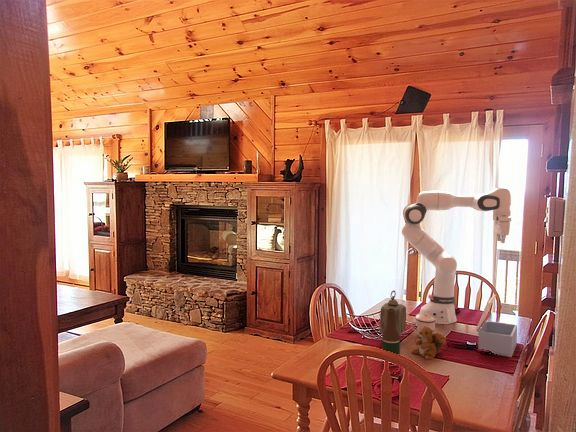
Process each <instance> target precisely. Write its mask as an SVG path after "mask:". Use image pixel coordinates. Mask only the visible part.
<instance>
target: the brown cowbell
mask: <svg viewBox="0 0 576 432" xmlns="http://www.w3.org/2000/svg"><path fill="white" fill-rule="evenodd" d="M393 293H394V295H393ZM395 298H396V290H394V289H393V290H392V291H391V292H390V299H389V300H388V301H387V302H386V303H384V304H383V305H382V306H381V307H380V310H379V311H380V312H379V330H380V331H379V332H380V334H382V335H383V331H384V329H385V328H386V326H387V314H388V312H387V309H395V326H396V329H397V330H398V333H399V336H400V335H402V334H403V333H404V331H406V326H407V306H405V305H403V304H401V303H398V300H396V299H395Z"/></svg>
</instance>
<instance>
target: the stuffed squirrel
mask: <svg viewBox="0 0 576 432" xmlns="http://www.w3.org/2000/svg"><path fill="white" fill-rule="evenodd" d="M434 332H435V333H434ZM419 334H420V338H417V339H415V341H414V342H415V345H416V346H418V348H413V349H412V350H411V353H412V354H416V355H421V356H423V357H424V358H425V360H432V359H434V358H435V357H436V355H438V354H439V353H441V351H442V347H443V345H445V344H447V343H446V342H447V339H448V338H447V337H446V336H445V335H444V334H442V333H439V332H436V329H435V330H432V329H430V328H429V327H426V326H424V327H423V328H422V330H421V331H420V332H419ZM419 334H416V335H417V336H418V335H419Z"/></svg>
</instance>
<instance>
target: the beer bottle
mask: <svg viewBox="0 0 576 432" xmlns="http://www.w3.org/2000/svg"><path fill="white" fill-rule="evenodd" d="M387 312H388V314H387V326H386V328H385V329H384V331H383V334H382V341H381V342H382V344H381V345H382V347H381V348H382V349H383V350H386V351H390V352H393V353H396V354H399V355H400V354H401V352H400V351H401V349H400V347H401V345H400V344H401V340H400V335H399V333H398V330H397V329H396V326H395V309H387ZM382 349H381V350H382ZM381 361H382V360H381ZM383 363H384V361H382V364H383ZM389 365H394V364H392V363H389Z"/></svg>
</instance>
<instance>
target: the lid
mask: <svg viewBox="0 0 576 432" xmlns="http://www.w3.org/2000/svg"><path fill="white" fill-rule="evenodd" d="M496 296H497V295H496V294H493V295H492V296H491V298H490V299H489V300H488V302H487V303H486V305H485V307H484V310H483V312H482V315H481V317H480V320H479V321H478V324H477V326H476V328H475V330H476V332H479V330H480V329H481V327H482V326H483V324H484V323H485V322H486V321H487V320H486V318H487V316H488V313H489V311H490V310H491V306H492V304H493V302H494V300H495V298H496Z"/></svg>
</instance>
